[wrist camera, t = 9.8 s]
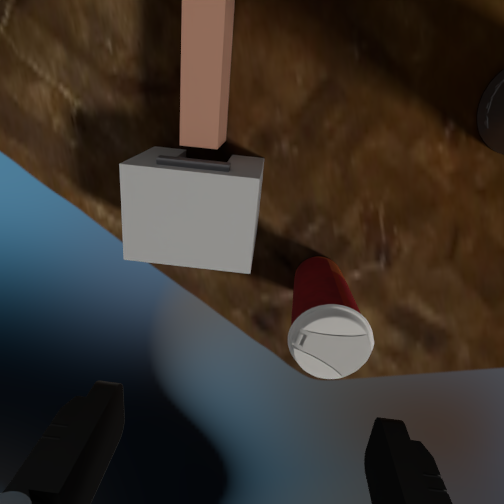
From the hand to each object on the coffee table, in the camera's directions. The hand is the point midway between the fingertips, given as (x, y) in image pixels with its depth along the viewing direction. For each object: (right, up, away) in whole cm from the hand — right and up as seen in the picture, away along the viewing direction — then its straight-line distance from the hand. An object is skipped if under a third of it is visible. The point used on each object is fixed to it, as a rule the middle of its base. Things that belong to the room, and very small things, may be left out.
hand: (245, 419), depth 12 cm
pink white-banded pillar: (-3, +25, +25) cm, 36 cm away
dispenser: (-5, +12, +31) cm, 34 cm away
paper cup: (+8, +2, +35) cm, 36 cm away
